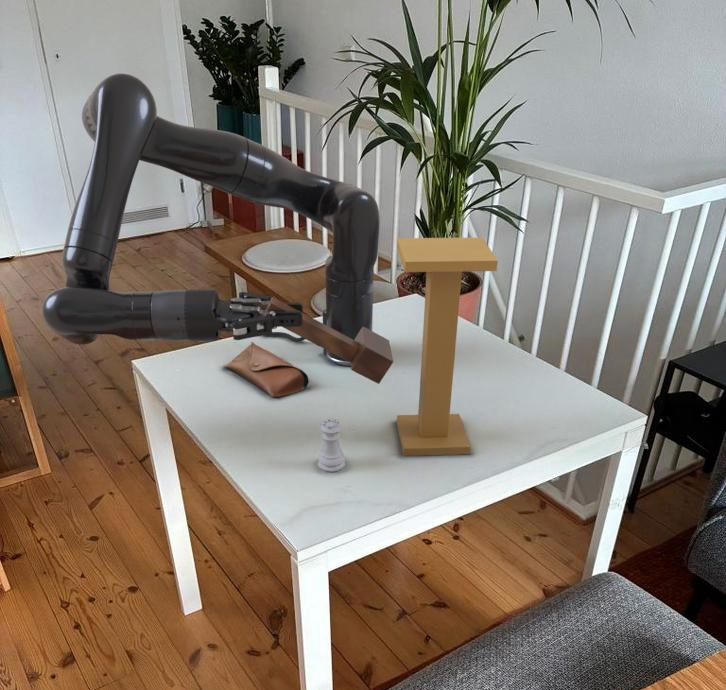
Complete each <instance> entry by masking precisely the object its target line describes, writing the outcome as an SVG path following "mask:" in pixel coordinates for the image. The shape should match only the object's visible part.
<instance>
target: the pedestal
mask: <svg viewBox="0 0 726 690" xmlns="http://www.w3.org/2000/svg"><path fill="white" fill-rule="evenodd" d="M396 241H397V242H396V250H397V252H398V256H399V259H400V263H401V265H402V268H403V271H404V273H426V275H425V294H424V296H425V297H424V311H423V327H422V328H423V329H422V344H421V345H422V346H421V360H420V361H421V363H420V377H419V378H420V379H419V394H418V395H419V397H418V411H417V412H418V414H397V415H396V426H397V431H398V436H399V442H400V446H401V451H402V456H403V457H417V456H419V457H420V456H457V455H471V444H470V441H469V438H468V435H467V432H466V430H465V427H464V424H463V421H462V418H461V415H460V413H451V405H452V404H451V403H452V393H453V392H452V391H453V380H454V368H455V356H456V346H457V345H456V344H457V335H458V323H459V312H460V311H459V310H460V298H461V287H462V274H463V272H497V271H498V261H499V260H498V259H497V257H496V256H495V254H494V253H493V251H492V249H491V248H490V247H489V245H488V244H487V242H486V241H485V238H483V237H412V238H411V237H398V238H397V239H396Z"/></svg>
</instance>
